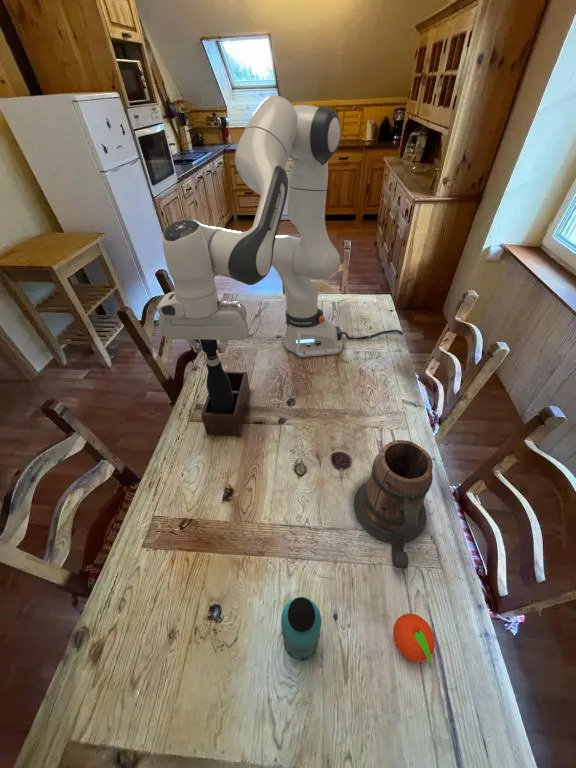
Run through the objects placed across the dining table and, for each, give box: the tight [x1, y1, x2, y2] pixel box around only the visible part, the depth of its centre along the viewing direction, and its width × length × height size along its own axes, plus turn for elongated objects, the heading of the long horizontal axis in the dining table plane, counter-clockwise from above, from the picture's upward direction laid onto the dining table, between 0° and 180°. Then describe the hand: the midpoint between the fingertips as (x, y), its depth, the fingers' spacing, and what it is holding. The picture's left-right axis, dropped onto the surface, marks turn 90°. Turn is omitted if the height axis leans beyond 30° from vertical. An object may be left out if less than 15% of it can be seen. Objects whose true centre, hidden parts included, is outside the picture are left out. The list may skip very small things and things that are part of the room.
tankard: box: [353, 439, 434, 570], centre depth 72 cm, size 24×17×20 cm
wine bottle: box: [199, 339, 235, 414], centre depth 92 cm, size 6×6×30 cm
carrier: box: [200, 370, 251, 437], centre depth 103 cm, size 10×19×9 cm, turn 176°
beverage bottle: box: [280, 596, 322, 663], centre depth 56 cm, size 6×7×20 cm
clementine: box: [392, 613, 436, 667], centre depth 60 cm, size 8×7×7 cm
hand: (210, 351), depth 85 cm, fingers open, 5 cm apart
